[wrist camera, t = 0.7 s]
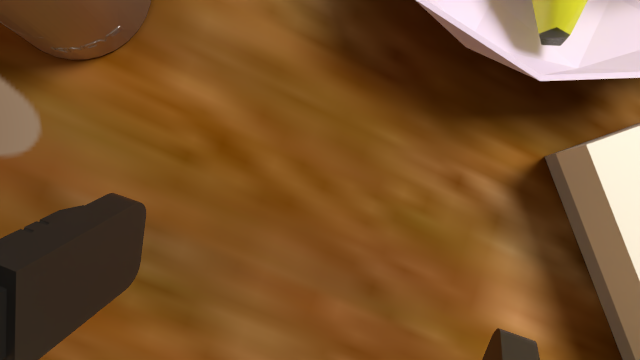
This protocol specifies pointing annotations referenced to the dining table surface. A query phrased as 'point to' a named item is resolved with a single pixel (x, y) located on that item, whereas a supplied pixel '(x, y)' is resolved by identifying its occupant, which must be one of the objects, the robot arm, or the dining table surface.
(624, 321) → the block
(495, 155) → the dining table surface
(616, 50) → the fruit bowl
